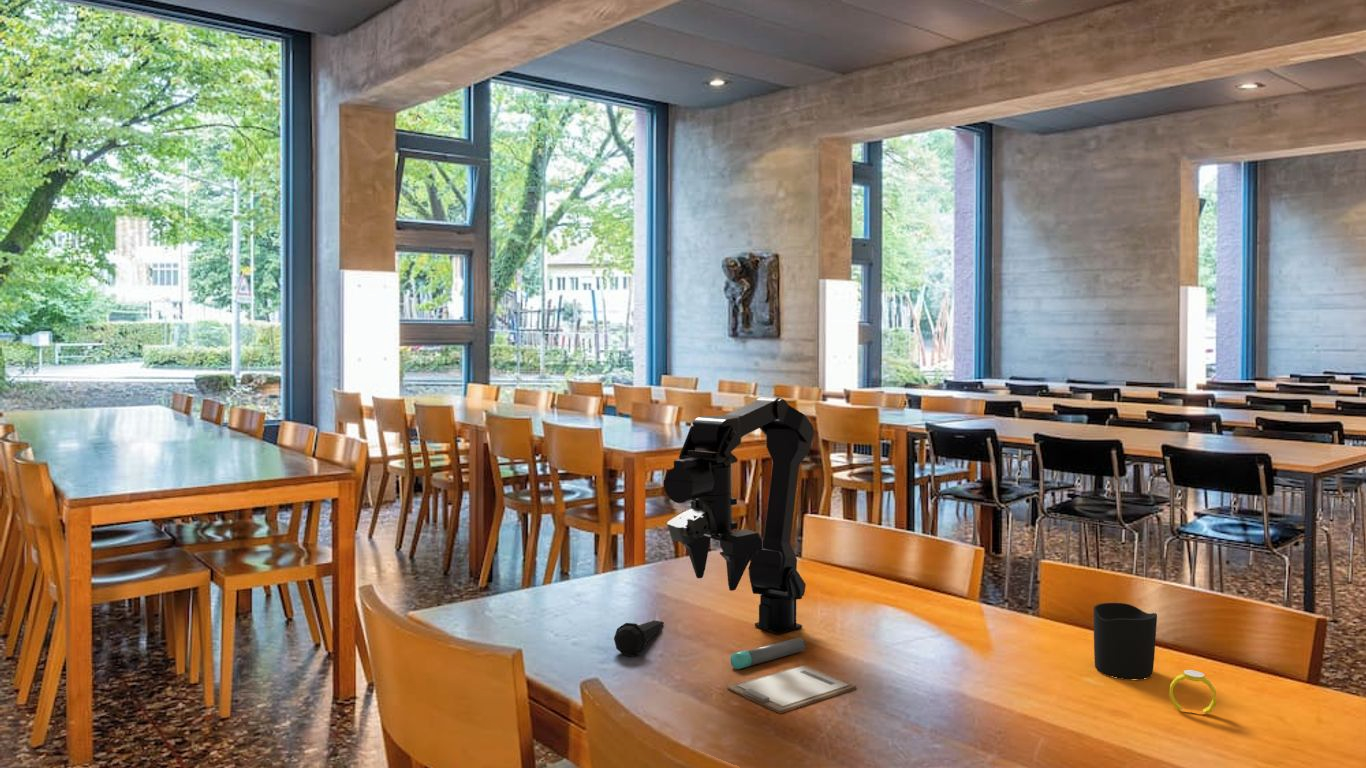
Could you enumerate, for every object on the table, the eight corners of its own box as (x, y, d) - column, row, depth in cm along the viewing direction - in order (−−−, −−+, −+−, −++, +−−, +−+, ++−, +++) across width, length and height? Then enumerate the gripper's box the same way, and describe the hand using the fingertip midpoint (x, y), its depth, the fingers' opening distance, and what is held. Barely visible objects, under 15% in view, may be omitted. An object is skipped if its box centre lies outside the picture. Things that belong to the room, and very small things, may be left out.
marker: (799, 647, 174) (799, 633, 174) (809, 651, 172) (809, 637, 172) (730, 666, 165) (730, 651, 164) (740, 671, 162) (740, 655, 162)
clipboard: (802, 667, 164) (802, 661, 164) (856, 688, 155) (856, 682, 155) (727, 689, 155) (727, 683, 155) (779, 713, 145) (779, 707, 145)
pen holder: (1151, 665, 165) (1153, 605, 164) (1158, 684, 156) (1160, 622, 155) (1090, 658, 168) (1091, 600, 167) (1093, 678, 159) (1095, 616, 158)
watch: (1213, 714, 145) (1218, 674, 145) (1214, 721, 143) (1219, 681, 142) (1167, 704, 148) (1172, 665, 147) (1167, 711, 145) (1172, 671, 145)
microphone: (653, 641, 188) (614, 663, 169) (645, 611, 188) (605, 629, 169) (679, 634, 186) (643, 656, 167) (671, 604, 187) (634, 622, 168)
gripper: (643, 490, 170) (645, 580, 171) (708, 508, 154) (710, 606, 156) (696, 482, 176) (698, 569, 177) (764, 498, 161) (765, 593, 162)
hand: (715, 584), depth 168 cm, fingers open, 9 cm apart
